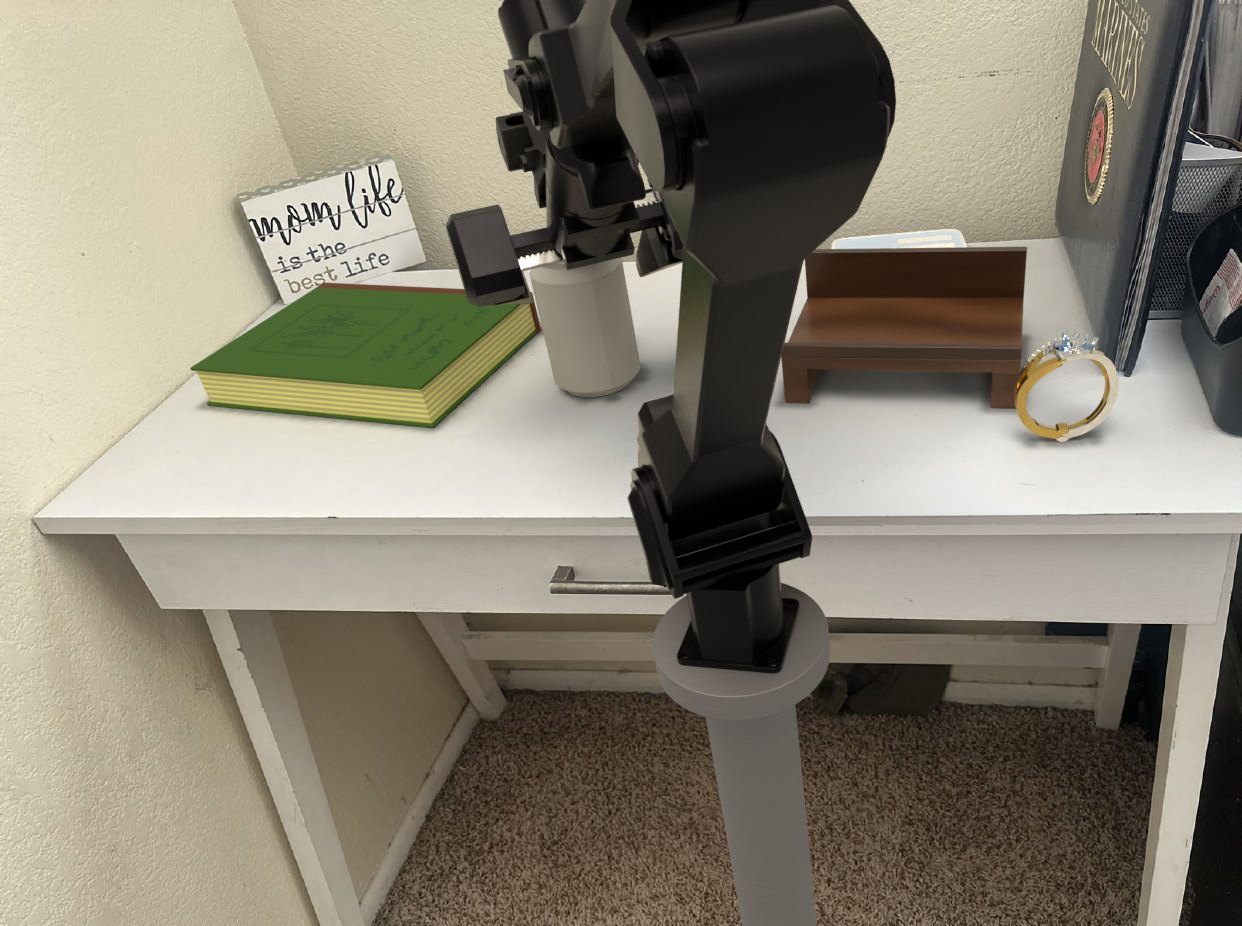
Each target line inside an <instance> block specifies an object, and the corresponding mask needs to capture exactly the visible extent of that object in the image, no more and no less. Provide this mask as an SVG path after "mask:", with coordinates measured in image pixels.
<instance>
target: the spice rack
mask: <svg viewBox="0 0 1242 926" xmlns="http://www.w3.org/2000/svg"><path fill="white" fill-rule="evenodd" d="M1027 254H1028V246H972V247H971V246H970V247H968V246H967V247H956V248H876V249H831V248H816V249H815V250H814V251H813V252H812V253H811V254H809V255H808V256H807V257H806V258H805V259H804V268H805V285H806V297H807V298H806V299H805V302H804V305H803V307H802V309H801V311H800V314H799V316H798V318H797V321H796V323H795V326H794V328H793V330H792V332H791V334H790V337H789V339H788V341H787V342H785V343H784V347H783V352H782V356H781V360H780V362H781V370H782V371H781V372H782V381H783V392H784V402H785V403H791V404H792V403H793V404H796V403H798V404H809V403H810V402H811V400H812V396H813V394H814V391H815V388H816V386H817V383H818V380H819V378H820V375H821V372H822V370H830V371H831V370H833V371H834V370H836V371H838V370H839V371H887V372H888V371H889V372H890V371H892V372H893V371H895V372H896V371H897V372H949V373H951V372H952V373H953V372H954V373H955V372H956V373H960V372H961V373H991V385H990V386H991V389H990V408H991V409H992V408H993V409H995V408H996V409H997V408H999V409H1016V405H1015V400H1014V390H1015V385H1016V381H1017V378H1018V376H1019V373H1020V371H1021V365H1022V350H1023V349H1022V348H1023V345H1022V343H1023V321H1024V300H1025V299H1024V298H1025V285H1026V272H1027V271H1026V270H1027V269H1026V267H1027V256H1028V255H1027Z"/></svg>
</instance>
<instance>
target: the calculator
mask: <svg viewBox="0 0 1242 926" xmlns="http://www.w3.org/2000/svg"><path fill="white" fill-rule="evenodd" d="M956 247H968V245H967V243H966V239H965V237H964V235H963V232H961V230H959V229H956V228H943V229H931V230H919V231H907V232H897V233H884V234H873V235H872V234H871V235H861V236H850V237H842V238H837V239H835V240H833V241H832V243H831V246H830V249H876V248H956Z"/></svg>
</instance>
